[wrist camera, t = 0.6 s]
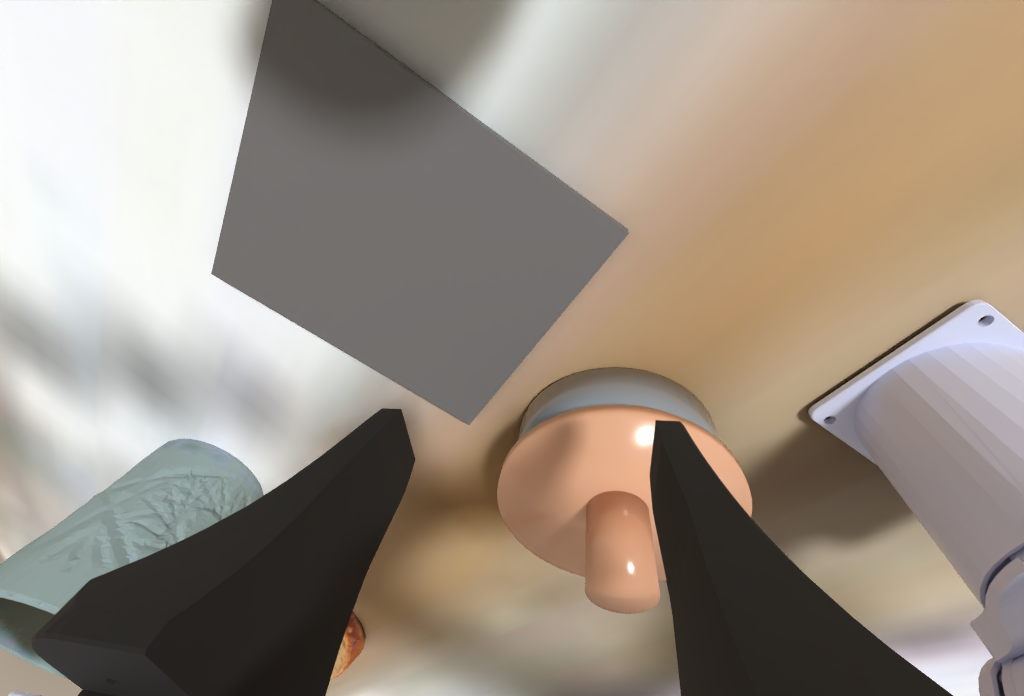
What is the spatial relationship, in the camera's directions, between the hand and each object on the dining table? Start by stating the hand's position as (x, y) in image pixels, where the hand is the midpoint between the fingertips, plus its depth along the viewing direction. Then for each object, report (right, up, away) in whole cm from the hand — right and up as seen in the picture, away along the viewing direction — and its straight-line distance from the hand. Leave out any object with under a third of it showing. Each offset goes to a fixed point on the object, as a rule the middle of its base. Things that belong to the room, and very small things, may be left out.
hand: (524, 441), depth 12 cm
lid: (+5, -5, +9) cm, 12 cm away
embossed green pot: (-24, -7, +21) cm, 33 cm away
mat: (-6, +7, +9) cm, 13 cm away
